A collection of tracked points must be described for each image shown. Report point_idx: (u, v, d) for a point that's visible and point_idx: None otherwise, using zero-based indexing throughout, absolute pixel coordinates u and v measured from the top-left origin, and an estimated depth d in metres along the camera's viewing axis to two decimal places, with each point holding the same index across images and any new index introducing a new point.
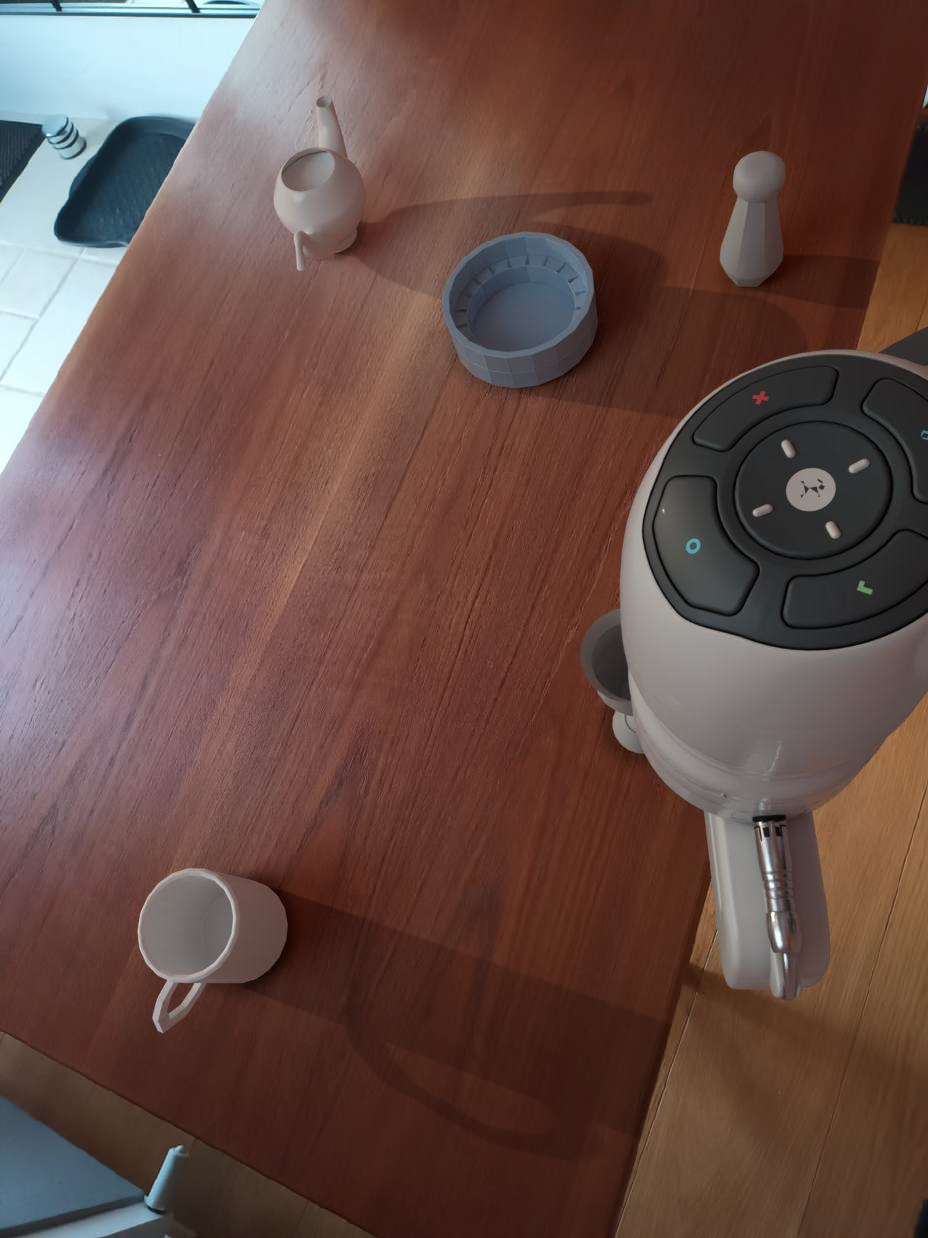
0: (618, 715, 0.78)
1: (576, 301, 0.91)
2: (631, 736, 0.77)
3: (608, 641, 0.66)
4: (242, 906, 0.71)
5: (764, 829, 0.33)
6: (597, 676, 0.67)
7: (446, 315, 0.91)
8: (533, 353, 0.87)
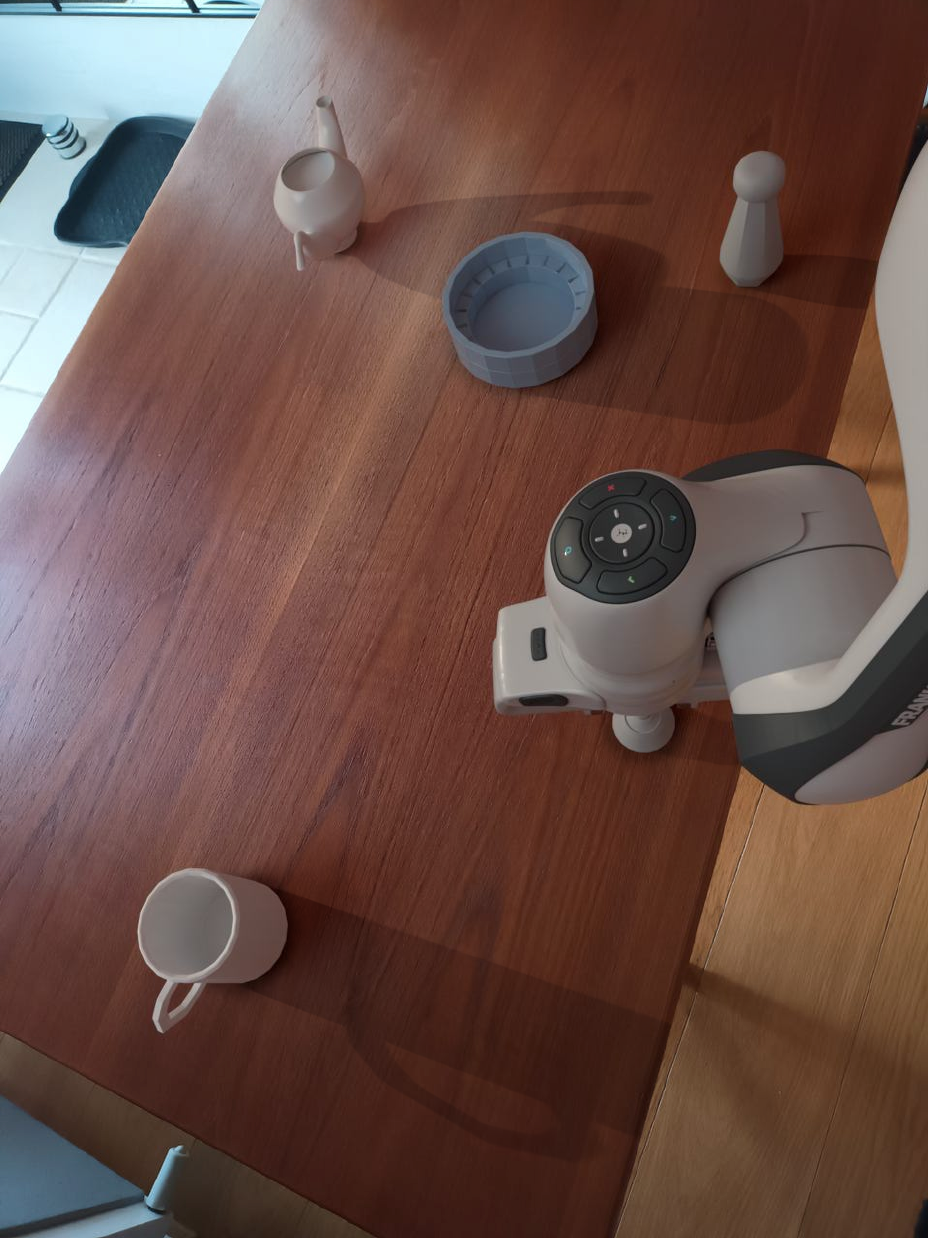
0: (618, 714, 0.78)
1: (576, 301, 0.91)
2: (631, 735, 0.77)
3: None
4: (242, 906, 0.71)
5: (711, 639, 0.59)
6: None
7: (446, 315, 0.91)
8: (533, 353, 0.87)
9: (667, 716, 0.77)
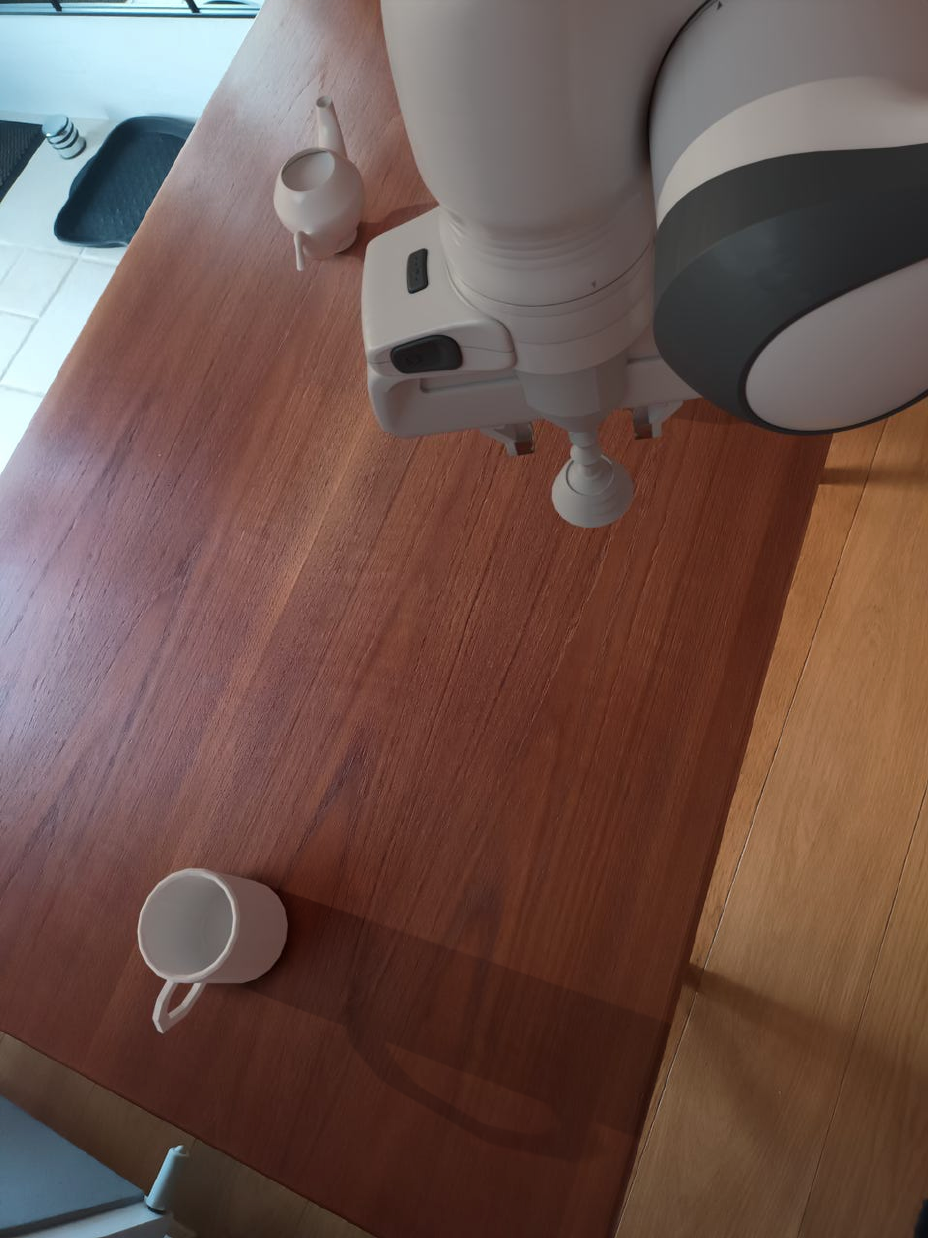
0: (558, 478, 0.59)
1: None
2: (574, 500, 0.57)
3: None
4: (242, 906, 0.71)
5: None
6: None
7: None
8: None
9: (623, 477, 0.58)
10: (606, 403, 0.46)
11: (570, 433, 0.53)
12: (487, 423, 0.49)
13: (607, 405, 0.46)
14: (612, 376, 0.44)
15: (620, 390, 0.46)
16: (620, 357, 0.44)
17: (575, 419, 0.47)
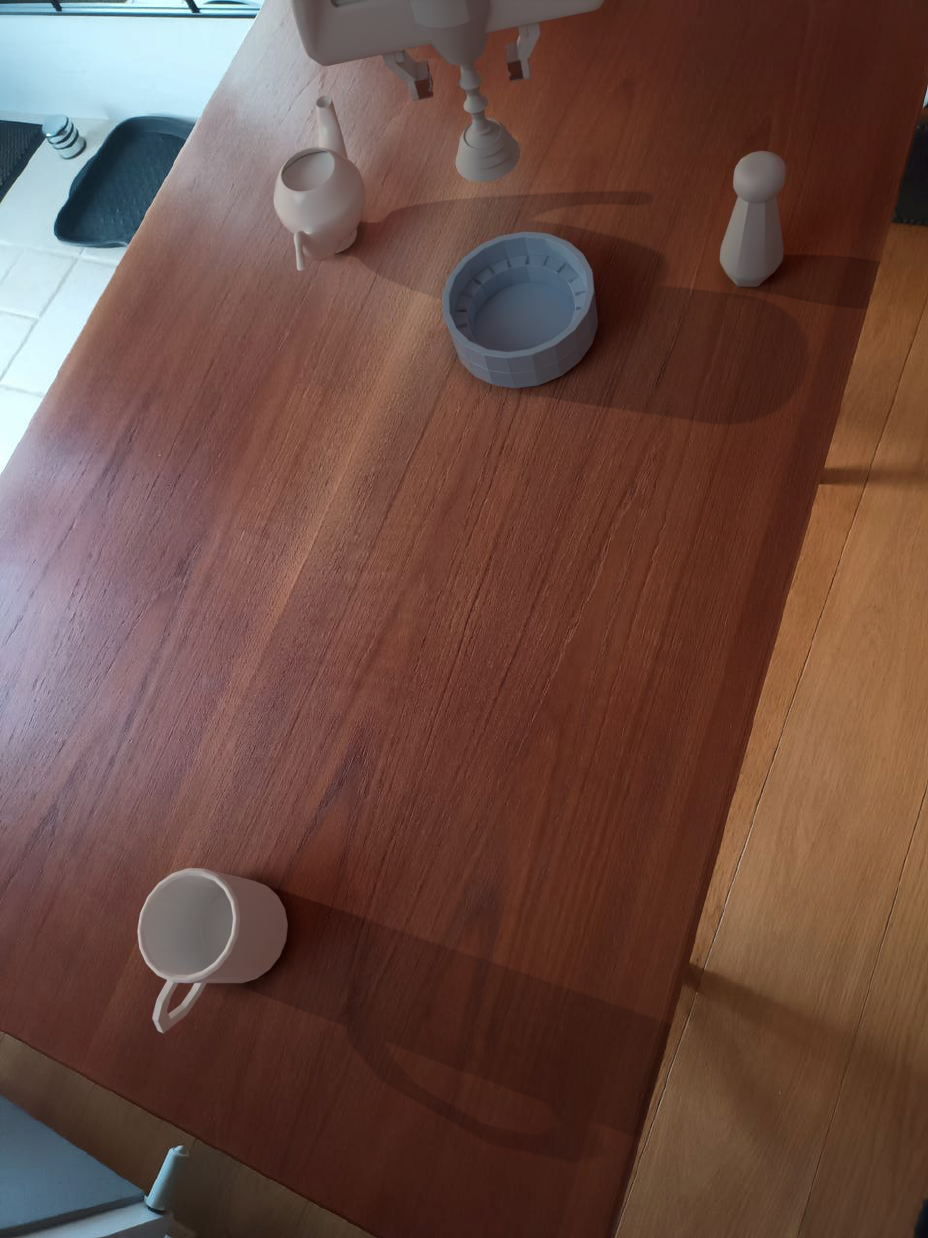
0: (459, 143, 0.73)
1: (576, 301, 0.91)
2: (470, 154, 0.71)
3: None
4: (242, 906, 0.71)
5: None
6: None
7: (446, 315, 0.91)
8: (533, 353, 0.87)
9: (510, 138, 0.72)
10: (474, 13, 0.60)
11: (460, 80, 0.67)
12: (387, 46, 0.63)
13: (475, 16, 0.60)
14: None
15: (484, 2, 0.60)
16: None
17: (452, 32, 0.61)
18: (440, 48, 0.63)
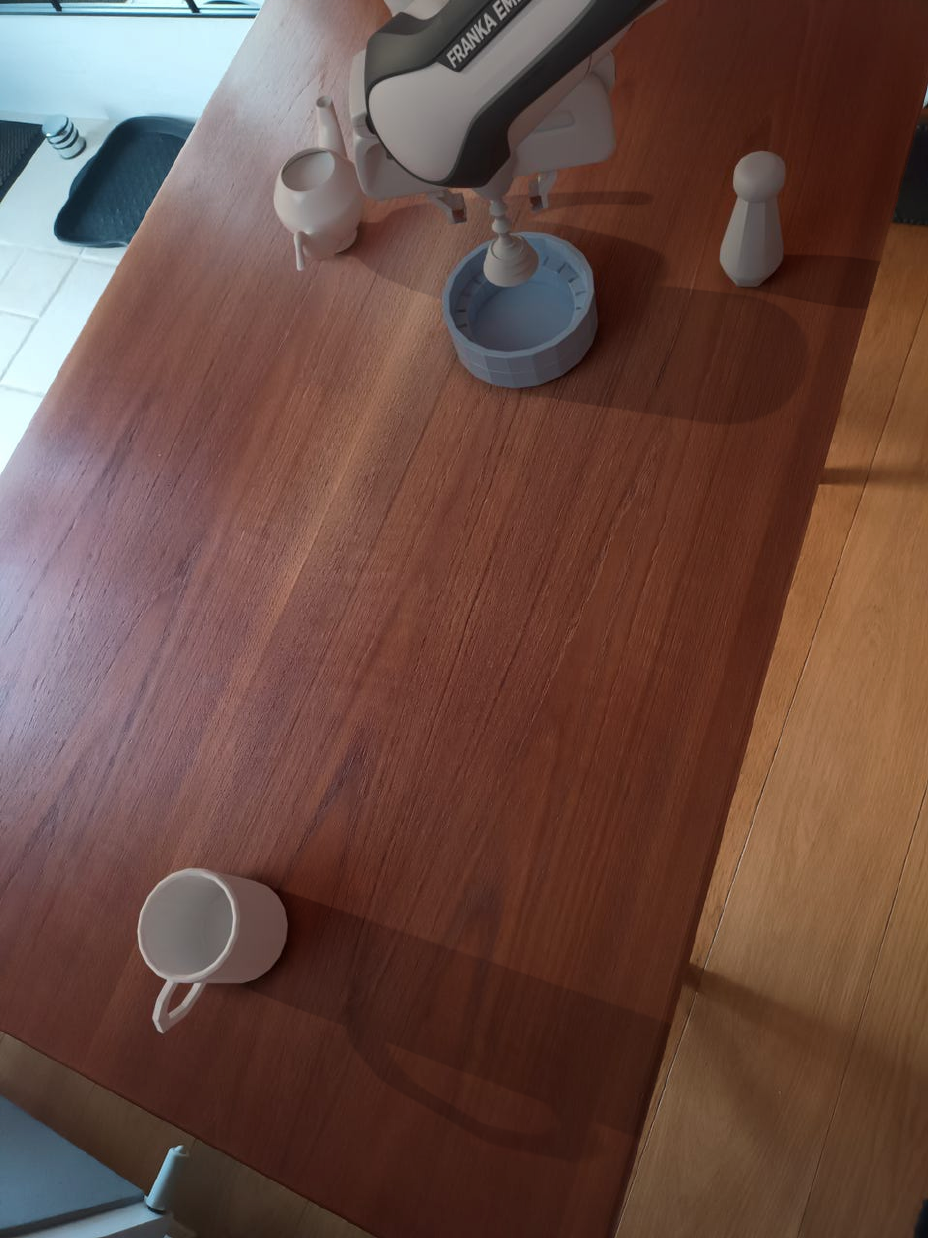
0: None
1: (576, 301, 0.91)
2: (496, 264, 0.84)
3: None
4: (242, 906, 0.71)
5: None
6: None
7: (446, 315, 0.91)
8: (533, 353, 0.87)
9: (530, 250, 0.85)
10: (503, 166, 0.73)
11: (489, 207, 0.80)
12: (431, 187, 0.75)
13: (504, 168, 0.73)
14: None
15: (512, 157, 0.73)
16: None
17: None
18: (474, 189, 0.76)
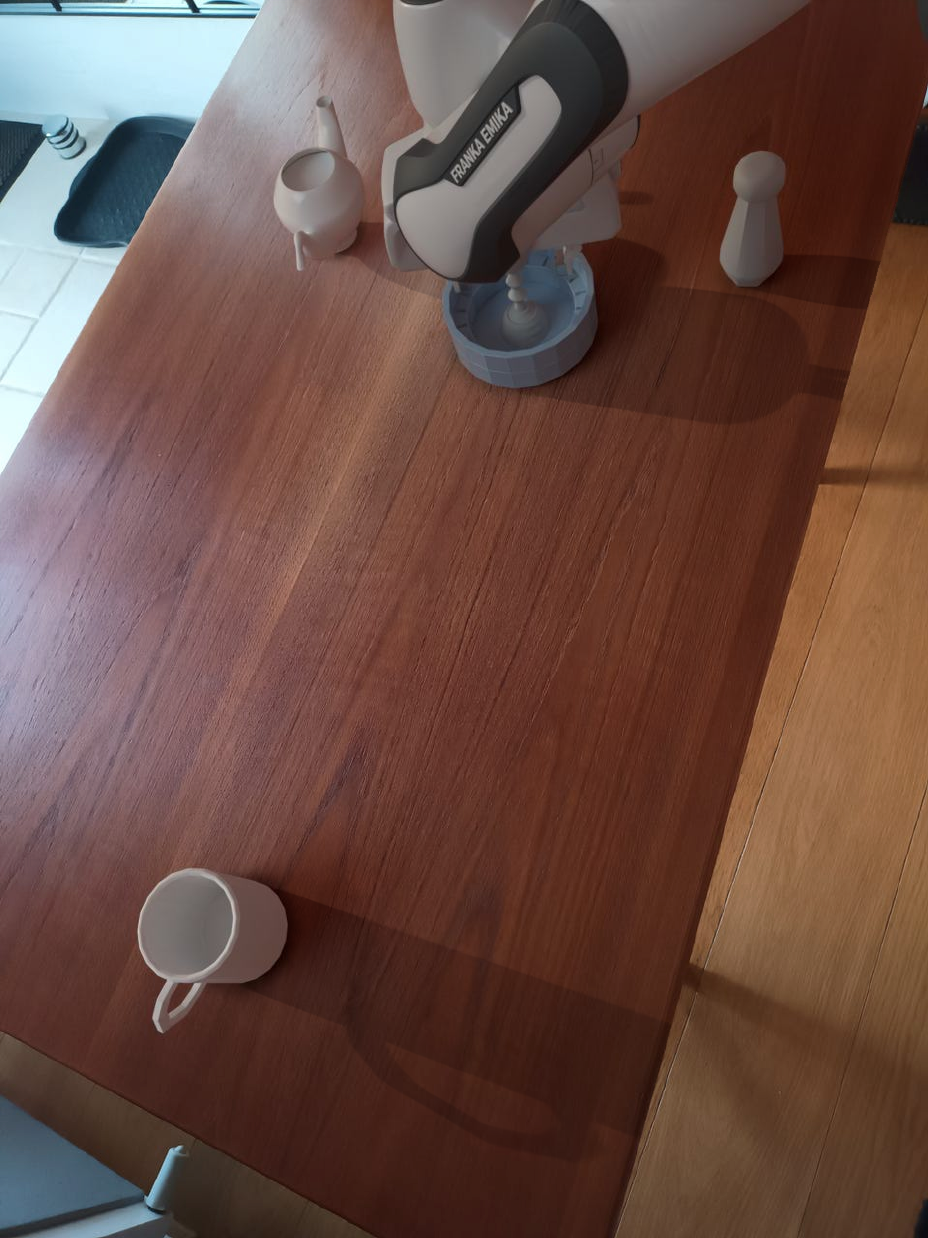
0: (503, 316, 0.94)
1: (576, 301, 0.91)
2: (512, 328, 0.92)
3: None
4: (242, 906, 0.71)
5: None
6: None
7: (446, 315, 0.91)
8: (533, 353, 0.87)
9: (543, 314, 0.93)
10: None
11: (506, 279, 0.88)
12: None
13: None
14: None
15: None
16: None
17: None
18: None
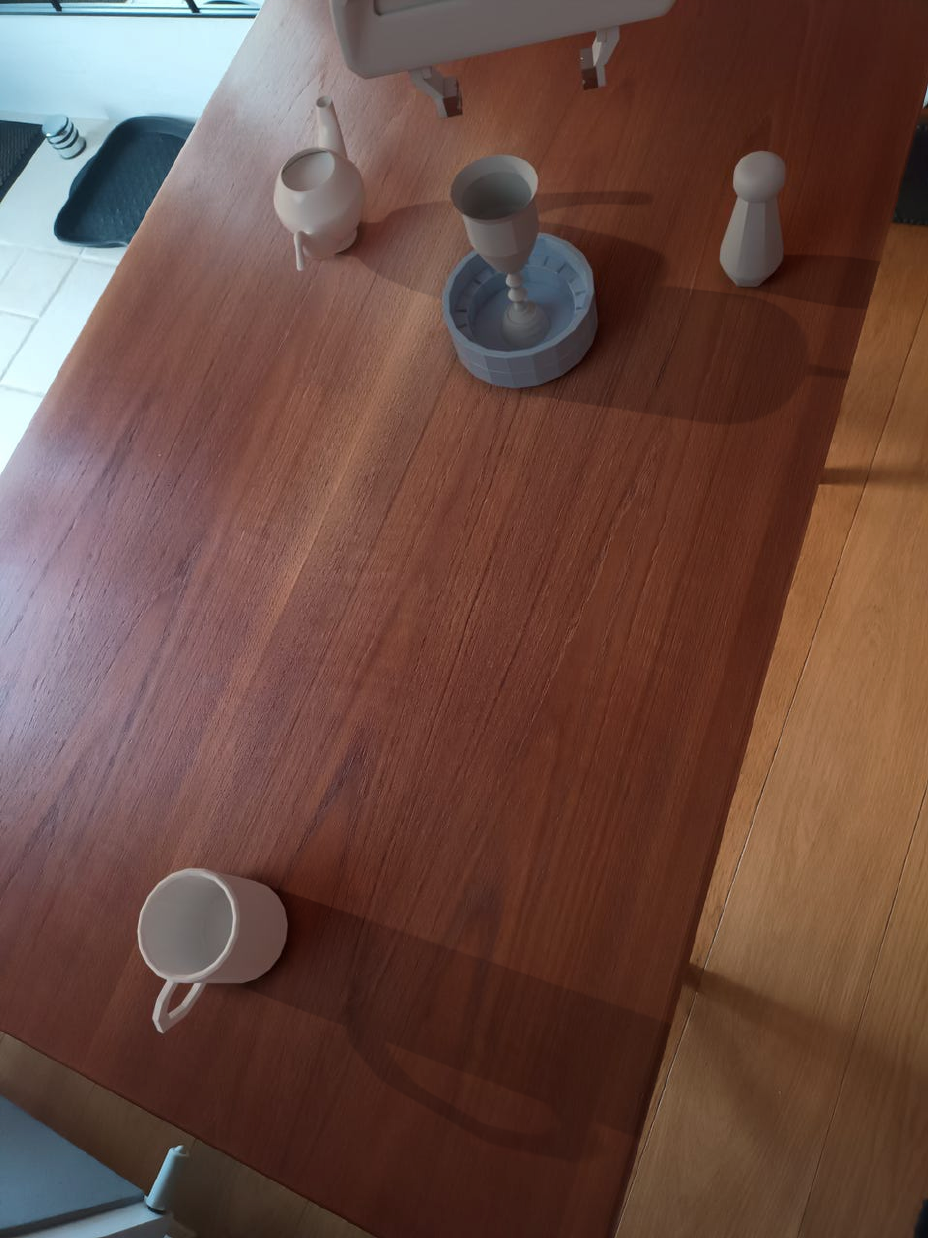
0: (503, 316, 0.94)
1: (576, 301, 0.91)
2: (512, 328, 0.92)
3: (478, 200, 0.82)
4: (242, 906, 0.71)
5: None
6: None
7: (446, 315, 0.91)
8: (533, 353, 0.87)
9: (543, 314, 0.93)
10: (521, 248, 0.81)
11: (506, 279, 0.88)
12: (434, 57, 0.58)
13: (521, 249, 0.81)
14: (522, 230, 0.79)
15: (528, 240, 0.81)
16: (526, 218, 0.78)
17: (504, 259, 0.82)
18: (494, 266, 0.84)
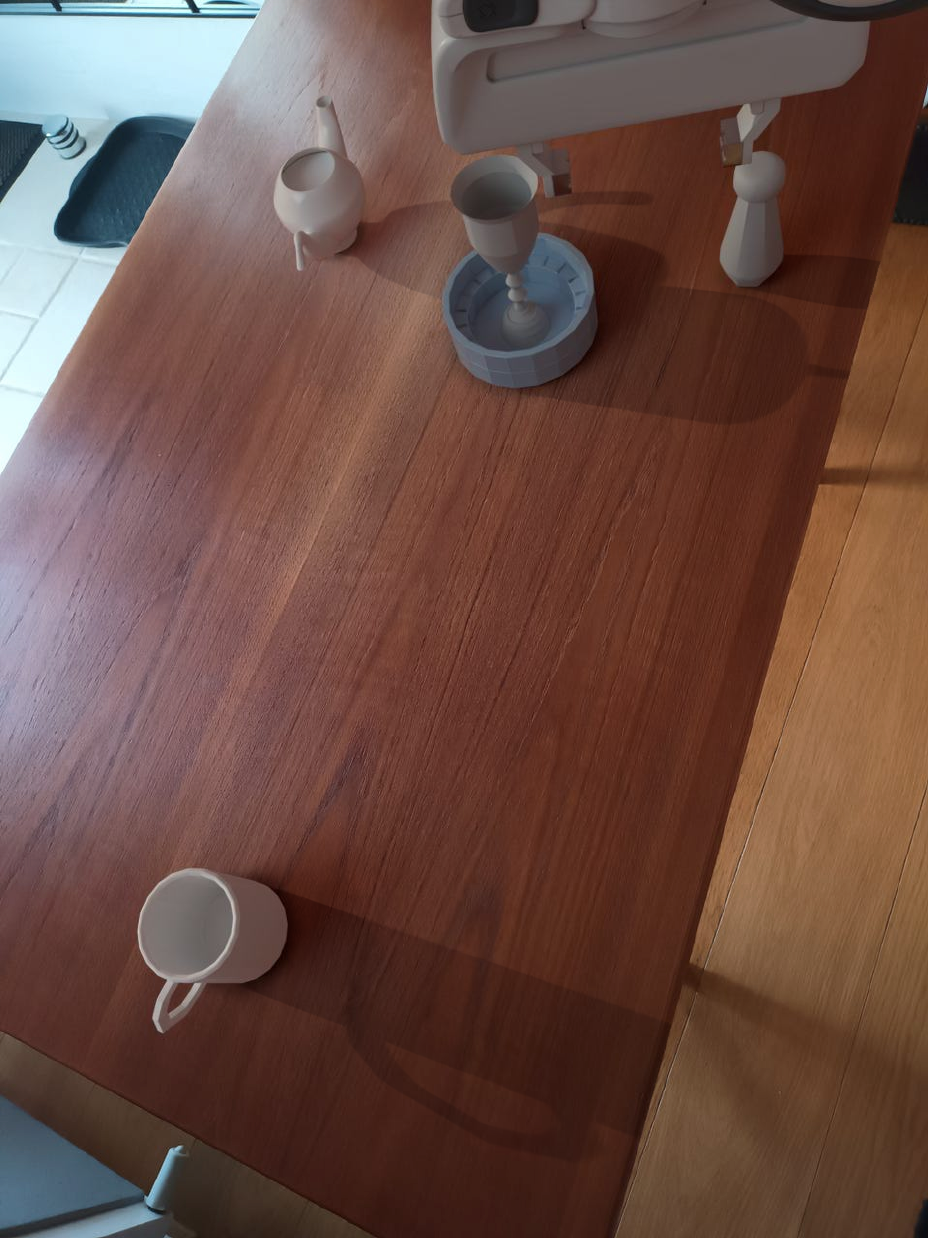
0: (503, 316, 0.94)
1: (576, 301, 0.91)
2: (512, 328, 0.92)
3: (478, 200, 0.82)
4: (242, 906, 0.71)
5: None
6: None
7: (446, 315, 0.91)
8: (533, 353, 0.87)
9: (543, 314, 0.93)
10: (521, 248, 0.81)
11: (506, 279, 0.88)
12: (552, 131, 0.47)
13: (521, 249, 0.81)
14: (522, 230, 0.79)
15: (528, 240, 0.81)
16: (526, 218, 0.78)
17: (504, 259, 0.82)
18: (494, 266, 0.84)
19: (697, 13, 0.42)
